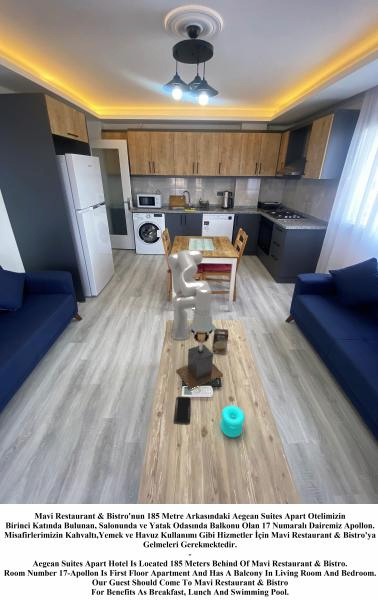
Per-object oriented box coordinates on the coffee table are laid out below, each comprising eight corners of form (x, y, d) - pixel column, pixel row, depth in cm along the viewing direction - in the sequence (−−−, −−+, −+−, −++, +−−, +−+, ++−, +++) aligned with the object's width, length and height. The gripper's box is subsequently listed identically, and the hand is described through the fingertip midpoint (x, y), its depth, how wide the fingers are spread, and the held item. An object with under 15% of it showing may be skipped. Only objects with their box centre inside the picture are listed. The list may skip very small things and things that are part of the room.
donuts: (221, 421, 103) (222, 402, 112) (219, 436, 108) (220, 417, 116) (245, 425, 102) (244, 406, 110) (242, 440, 106) (241, 420, 115)
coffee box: (212, 354, 157) (213, 333, 150) (212, 348, 163) (213, 328, 155) (226, 355, 156) (228, 335, 149) (225, 349, 162) (228, 329, 155)
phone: (173, 422, 112) (176, 396, 126) (173, 424, 113) (176, 398, 126) (190, 423, 112) (191, 397, 125) (190, 425, 113) (191, 398, 126)
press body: (176, 371, 142) (176, 349, 135) (207, 359, 152) (209, 338, 145) (189, 390, 130) (190, 367, 123) (222, 376, 140) (225, 353, 132)
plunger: (190, 360, 139) (191, 330, 129) (202, 356, 142) (203, 326, 133) (197, 369, 133) (199, 338, 123) (209, 364, 136) (212, 334, 126)
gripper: (185, 313, 118) (185, 343, 127) (220, 314, 118) (217, 344, 127) (185, 306, 125) (185, 335, 133) (219, 307, 125) (216, 336, 133)
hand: (201, 339), depth 130 cm, fingers closed on plunger, 5 cm apart
